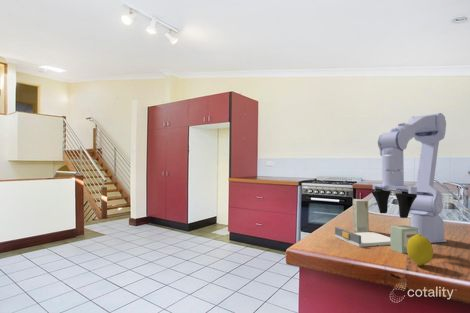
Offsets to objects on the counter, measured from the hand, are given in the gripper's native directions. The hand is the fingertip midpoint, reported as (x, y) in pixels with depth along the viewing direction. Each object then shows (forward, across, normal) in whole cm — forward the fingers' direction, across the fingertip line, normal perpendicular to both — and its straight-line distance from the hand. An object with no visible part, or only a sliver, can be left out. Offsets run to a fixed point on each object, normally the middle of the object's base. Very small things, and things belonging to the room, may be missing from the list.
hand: (393, 215), depth 82 cm
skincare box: (+10, -21, +6) cm, 24 cm away
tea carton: (+10, +2, +2) cm, 11 cm away
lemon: (+10, +13, -5) cm, 17 cm away
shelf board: (+10, -10, -1) cm, 14 cm away
